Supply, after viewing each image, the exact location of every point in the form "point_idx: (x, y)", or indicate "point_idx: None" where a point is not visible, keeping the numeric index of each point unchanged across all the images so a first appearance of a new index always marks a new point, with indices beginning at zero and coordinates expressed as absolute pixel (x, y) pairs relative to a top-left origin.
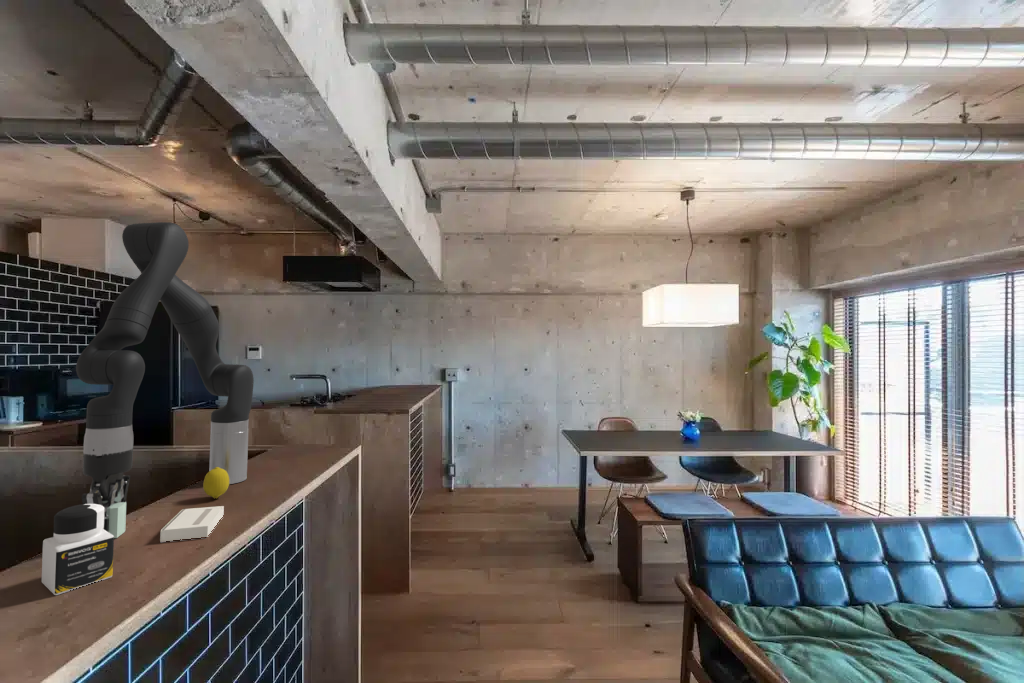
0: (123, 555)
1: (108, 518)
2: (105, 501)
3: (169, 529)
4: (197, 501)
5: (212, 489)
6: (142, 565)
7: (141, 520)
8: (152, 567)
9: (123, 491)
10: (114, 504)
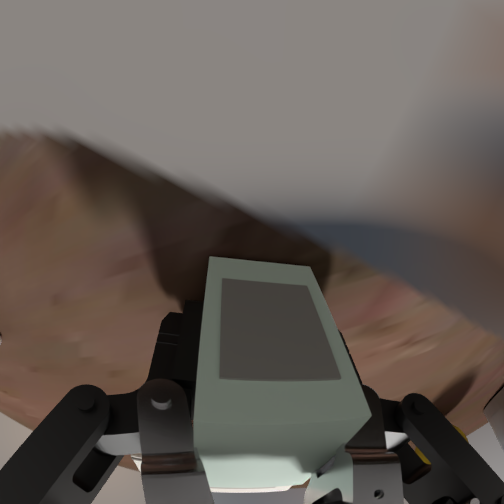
0: (58, 377)
1: (192, 419)
2: (338, 464)
3: (135, 462)
4: (442, 405)
5: (421, 454)
6: (24, 396)
7: (389, 360)
8: (22, 404)
9: (405, 489)
10: (281, 474)
